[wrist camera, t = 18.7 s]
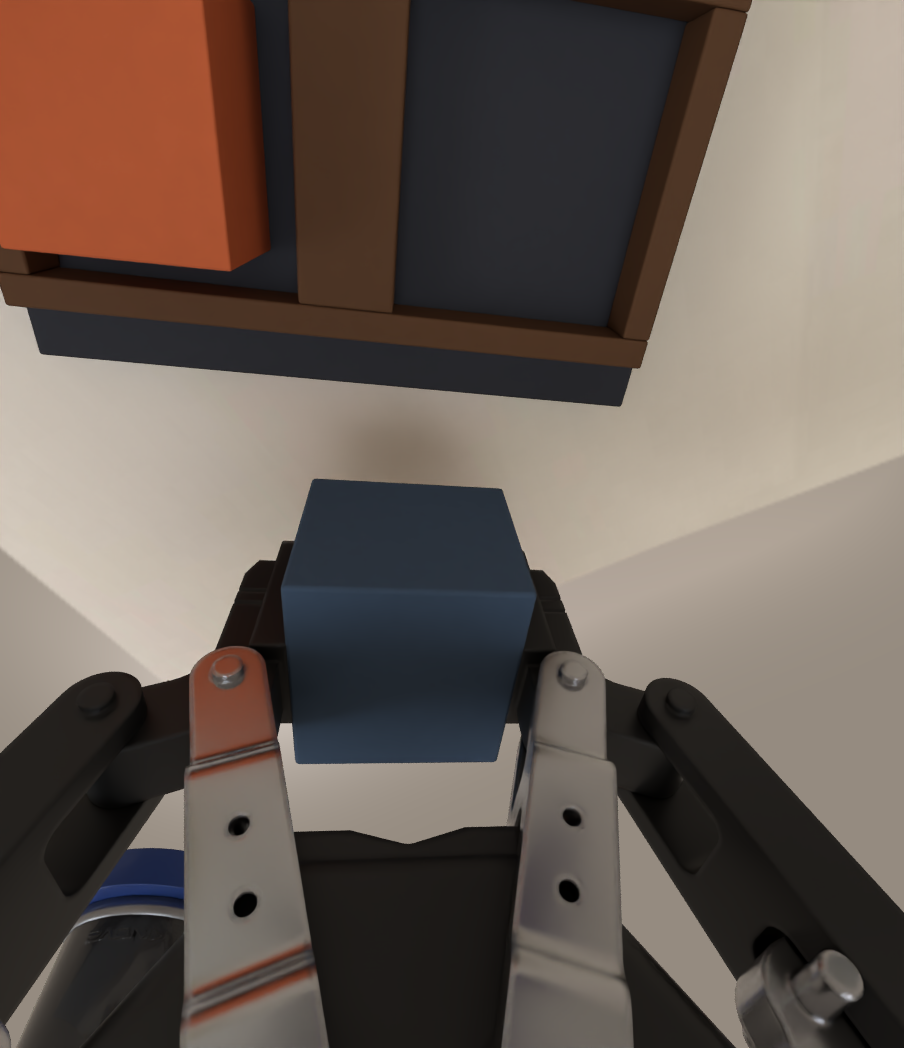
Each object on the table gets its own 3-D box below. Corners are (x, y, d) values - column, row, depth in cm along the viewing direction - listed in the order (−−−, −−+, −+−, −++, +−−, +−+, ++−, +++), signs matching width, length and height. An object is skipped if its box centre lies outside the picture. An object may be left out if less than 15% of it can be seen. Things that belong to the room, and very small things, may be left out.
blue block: (476, 638, 16) (497, 763, 12) (318, 635, 15) (294, 766, 12) (503, 487, 13) (538, 595, 10) (312, 476, 12) (279, 587, 9)
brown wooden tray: (610, 395, 19) (637, 424, 17) (61, 344, 17) (7, 370, 15) (750, -99, 13) (825, -159, 10) (-107, -286, 10) (-250, -414, 8)
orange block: (271, 250, 15) (231, 272, 11) (96, 231, 14) (0, 248, 11) (254, 3, 12) (196, -63, 9) (38, -31, 12) (-113, -116, 8)
